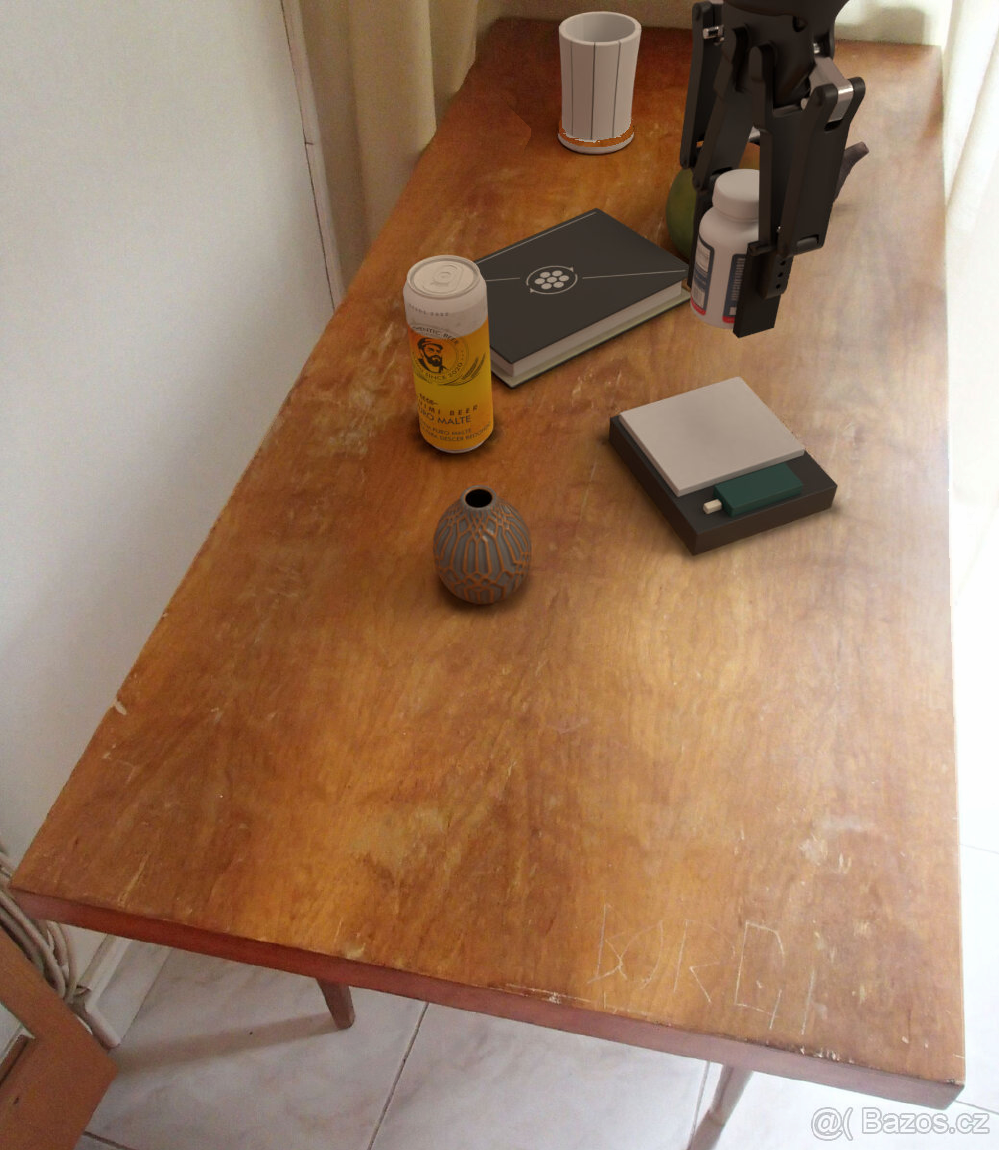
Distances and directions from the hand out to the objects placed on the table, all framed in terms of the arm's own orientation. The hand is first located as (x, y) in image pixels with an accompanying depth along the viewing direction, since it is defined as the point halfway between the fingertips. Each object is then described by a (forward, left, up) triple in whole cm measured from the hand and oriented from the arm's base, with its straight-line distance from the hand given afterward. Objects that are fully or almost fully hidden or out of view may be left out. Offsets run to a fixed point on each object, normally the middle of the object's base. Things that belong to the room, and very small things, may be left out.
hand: (729, 305), depth 67 cm
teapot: (+33, -28, -16) cm, 46 cm away
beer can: (+12, +16, -16) cm, 26 cm away
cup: (+54, -17, -16) cm, 59 cm away
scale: (-1, -1, -15) cm, 16 cm away
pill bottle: (0, 0, 0) cm, 0 cm away
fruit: (+26, -17, -16) cm, 35 cm away
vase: (-4, +20, -16) cm, 26 cm away
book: (+25, +1, -16) cm, 30 cm away
